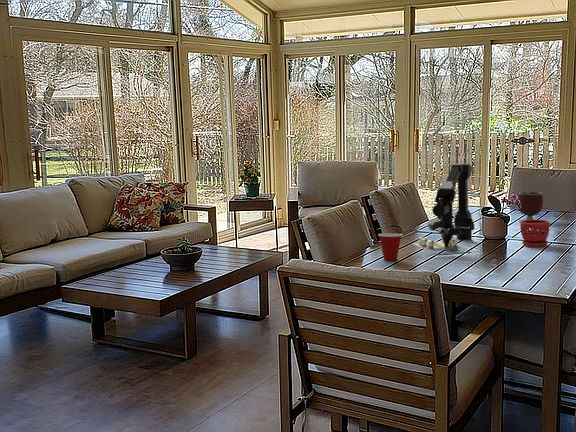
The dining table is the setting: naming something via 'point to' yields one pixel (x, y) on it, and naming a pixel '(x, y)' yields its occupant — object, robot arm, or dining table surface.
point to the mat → (452, 253)
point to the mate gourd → (530, 203)
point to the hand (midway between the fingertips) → (446, 246)
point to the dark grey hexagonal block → (450, 248)
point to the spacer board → (436, 245)
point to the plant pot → (534, 232)
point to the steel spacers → (431, 242)
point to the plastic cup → (390, 245)
